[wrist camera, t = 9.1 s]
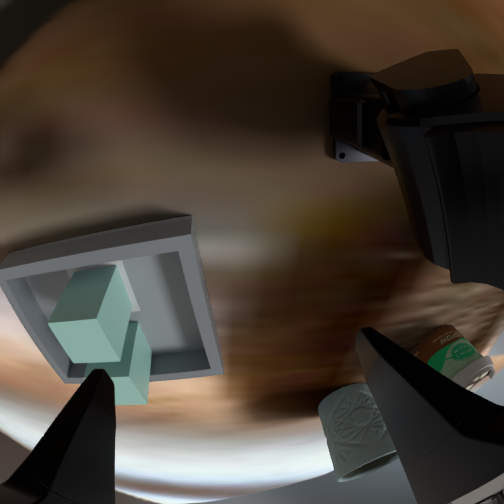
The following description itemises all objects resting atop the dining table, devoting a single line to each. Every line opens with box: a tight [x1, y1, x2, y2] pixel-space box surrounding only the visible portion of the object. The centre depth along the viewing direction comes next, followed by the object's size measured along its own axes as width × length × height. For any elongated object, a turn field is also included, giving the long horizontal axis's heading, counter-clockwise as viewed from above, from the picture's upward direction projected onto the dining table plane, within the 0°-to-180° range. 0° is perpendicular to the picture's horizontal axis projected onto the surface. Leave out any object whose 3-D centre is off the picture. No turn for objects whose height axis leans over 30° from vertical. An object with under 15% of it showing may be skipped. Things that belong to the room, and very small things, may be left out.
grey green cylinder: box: [318, 383, 399, 482], centre depth 32 cm, size 10×10×12 cm
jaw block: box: [48, 265, 132, 363], centre depth 19 cm, size 4×4×6 cm
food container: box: [411, 325, 495, 390], centre depth 30 cm, size 12×6×10 cm, turn 105°
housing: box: [0, 215, 224, 405], centre depth 20 cm, size 17×14×6 cm
